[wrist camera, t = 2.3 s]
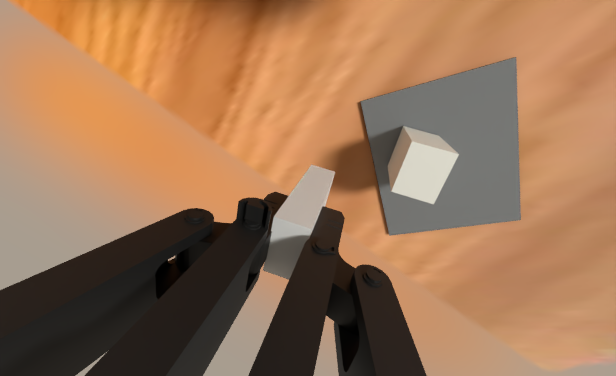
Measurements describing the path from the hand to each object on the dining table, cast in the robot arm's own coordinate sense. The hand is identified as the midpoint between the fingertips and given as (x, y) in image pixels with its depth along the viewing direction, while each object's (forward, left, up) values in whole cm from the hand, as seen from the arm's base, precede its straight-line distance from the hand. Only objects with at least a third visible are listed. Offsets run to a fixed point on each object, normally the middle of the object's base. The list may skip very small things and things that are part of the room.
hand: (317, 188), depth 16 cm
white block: (+4, +7, -17) cm, 19 cm away
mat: (+6, +10, -18) cm, 21 cm away
